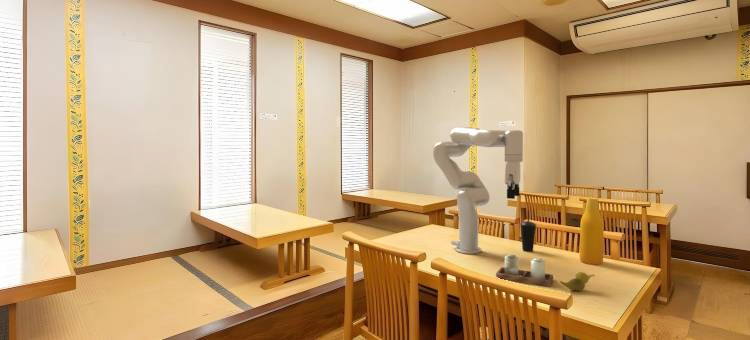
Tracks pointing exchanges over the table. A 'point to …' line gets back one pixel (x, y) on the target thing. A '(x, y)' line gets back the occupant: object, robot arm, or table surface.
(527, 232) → the drinking cup
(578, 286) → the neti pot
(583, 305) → the table surface
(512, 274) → the walnut tray
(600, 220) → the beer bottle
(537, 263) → the celadon canister
